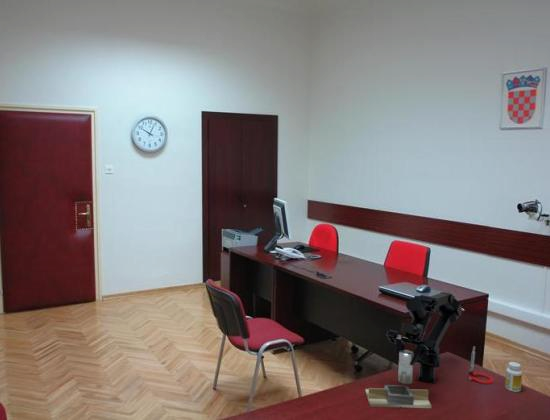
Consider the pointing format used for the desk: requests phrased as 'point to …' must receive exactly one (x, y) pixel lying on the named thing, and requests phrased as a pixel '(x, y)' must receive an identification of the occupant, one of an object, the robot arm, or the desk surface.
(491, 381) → the tow hook
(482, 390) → the desk surface
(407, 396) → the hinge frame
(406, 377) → the silver metal cylinder
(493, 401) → the desk surface
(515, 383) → the supplement bottle
